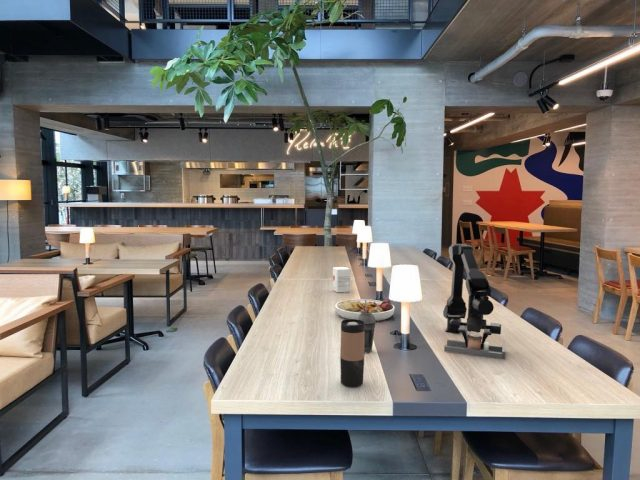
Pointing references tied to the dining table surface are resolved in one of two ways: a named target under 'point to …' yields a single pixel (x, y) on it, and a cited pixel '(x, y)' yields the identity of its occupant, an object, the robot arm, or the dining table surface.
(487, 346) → the pusher plate
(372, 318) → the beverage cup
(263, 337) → the dining table surface
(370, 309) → the bowl
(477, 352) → the lane
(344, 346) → the travel mug
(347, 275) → the supplement box
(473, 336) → the jar
